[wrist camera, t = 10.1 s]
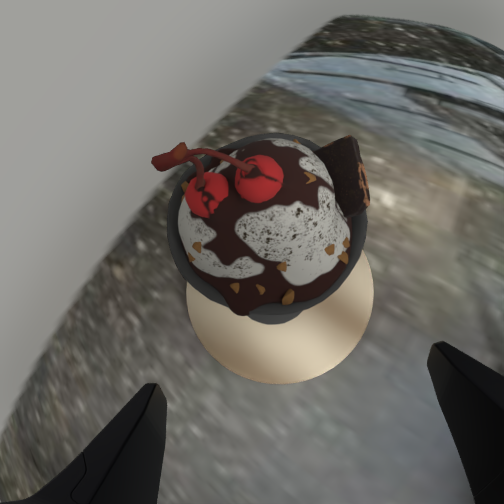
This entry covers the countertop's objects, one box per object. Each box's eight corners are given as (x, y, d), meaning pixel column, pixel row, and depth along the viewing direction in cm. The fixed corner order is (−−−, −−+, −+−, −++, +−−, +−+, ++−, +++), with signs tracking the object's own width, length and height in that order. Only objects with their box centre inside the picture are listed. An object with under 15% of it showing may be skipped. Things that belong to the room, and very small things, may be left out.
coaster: (335, 405, 18) (339, 408, 17) (165, 342, 20) (158, 341, 19) (385, 239, 21) (390, 232, 20) (230, 190, 23) (227, 182, 22)
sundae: (204, 319, 19) (39, 209, 5) (240, 224, 21) (183, 17, 7) (306, 354, 18) (400, 328, 4) (336, 252, 20) (419, 54, 6)
